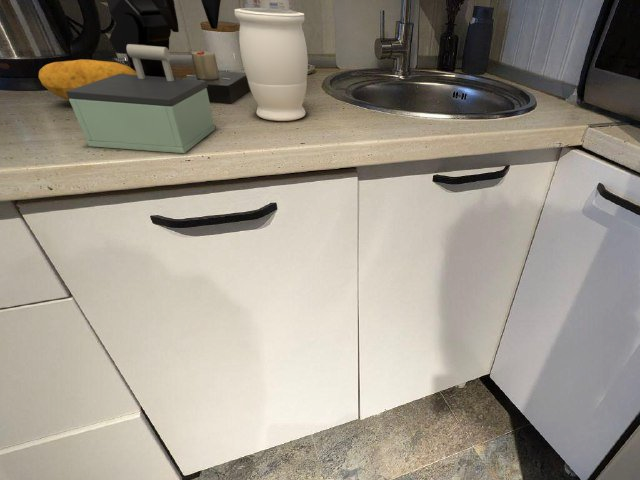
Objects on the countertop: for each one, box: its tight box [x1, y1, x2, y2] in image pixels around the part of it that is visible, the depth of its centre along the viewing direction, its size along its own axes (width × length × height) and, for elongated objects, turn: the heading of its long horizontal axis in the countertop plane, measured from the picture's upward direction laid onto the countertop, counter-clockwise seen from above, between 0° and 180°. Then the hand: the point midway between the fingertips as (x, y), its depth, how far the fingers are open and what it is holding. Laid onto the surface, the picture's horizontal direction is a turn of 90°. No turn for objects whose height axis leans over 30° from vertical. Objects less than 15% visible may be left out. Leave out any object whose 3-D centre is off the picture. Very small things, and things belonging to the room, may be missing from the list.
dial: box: [190, 50, 219, 80], centre depth 74 cm, size 4×4×4 cm
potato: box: [38, 58, 137, 101], centre depth 65 cm, size 8×14×7 cm, turn 108°
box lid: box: [66, 44, 208, 106], centre depth 52 cm, size 12×13×5 cm
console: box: [184, 70, 251, 104], centre depth 77 cm, size 12×10×3 cm
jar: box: [234, 7, 309, 122], centre depth 65 cm, size 11×10×15 cm
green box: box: [68, 88, 216, 154], centre depth 55 cm, size 11×13×6 cm
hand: (196, 30), depth 70 cm, fingers open, 9 cm apart
